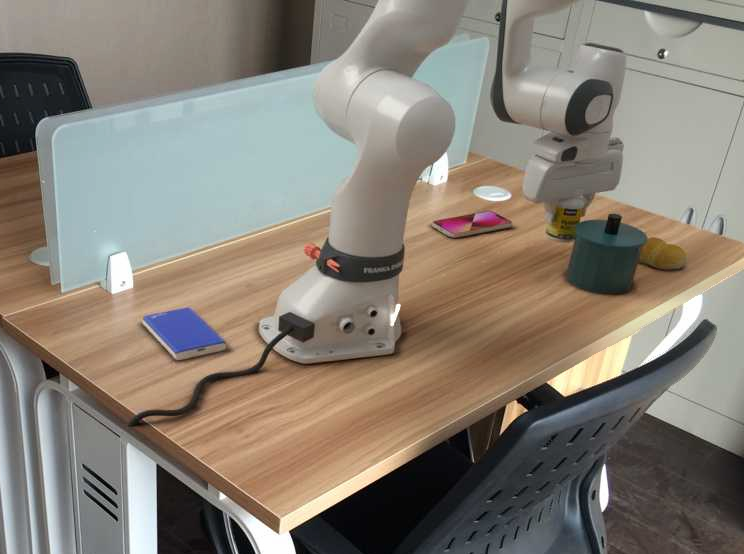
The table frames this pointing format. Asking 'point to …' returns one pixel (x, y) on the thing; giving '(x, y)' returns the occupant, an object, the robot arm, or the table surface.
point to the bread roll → (662, 254)
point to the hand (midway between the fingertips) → (564, 218)
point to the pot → (602, 267)
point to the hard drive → (183, 333)
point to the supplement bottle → (566, 218)
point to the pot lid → (611, 233)
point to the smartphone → (471, 224)
